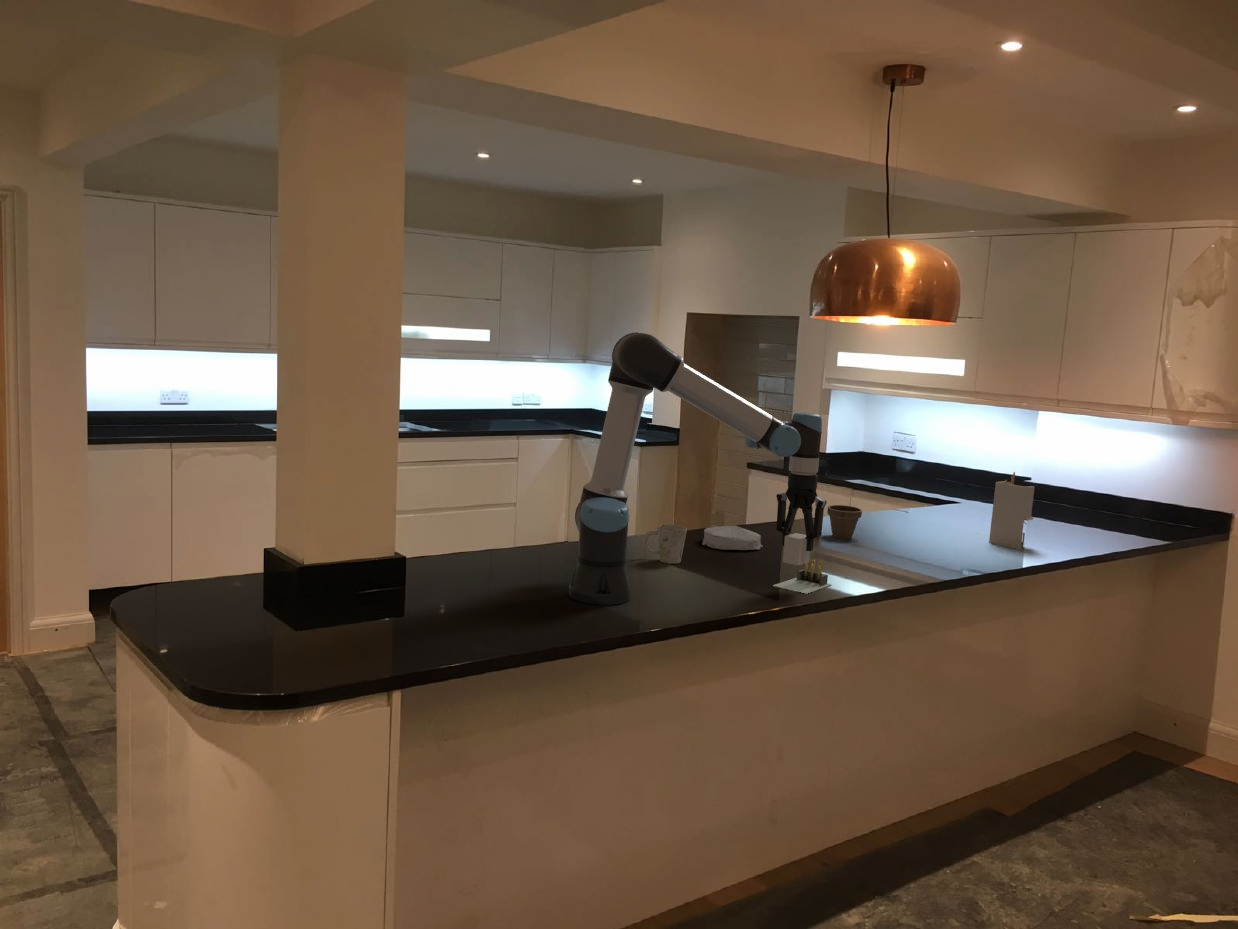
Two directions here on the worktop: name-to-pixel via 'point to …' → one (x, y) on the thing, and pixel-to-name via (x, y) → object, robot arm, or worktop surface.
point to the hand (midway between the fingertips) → (796, 560)
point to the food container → (731, 538)
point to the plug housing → (793, 549)
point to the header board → (804, 583)
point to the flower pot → (843, 520)
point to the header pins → (813, 571)
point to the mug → (668, 542)
